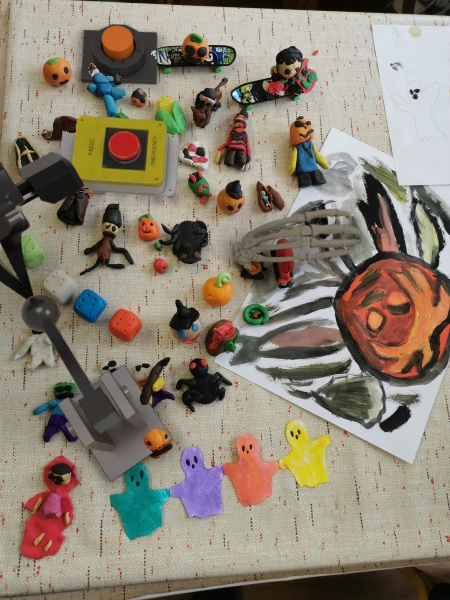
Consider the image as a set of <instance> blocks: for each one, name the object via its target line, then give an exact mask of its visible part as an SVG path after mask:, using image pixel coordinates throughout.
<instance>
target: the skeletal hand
mask: <svg viewBox="0 0 450 600" xmlns="http://www.w3.org/2000/svg"><path fill="white" fill-rule="evenodd" d="M350 216H351V213H350V212H349V211H347V210H341V209H339V208H325V209H324V208H323V209H316V210H313V211H311V210H310V211H304V213H294V214H293V215H290V216H288V217H283V218H280V219H279V218H278V219H276V220H272V221H269V222H266V223H264V224H262V225H260V226H258V227H256V228H254V229H252V230H250V231H247V233H246V234H245V235H243V236H242V237H241V242H239V241H236V242H233V244H232V245H233V246H232V252H233V254H234V255H233V258H232V259H233V261H234V263H236V264H238V265H241V266H243V268H244V269H246V270H248V269H247V268H249V267H251V264H252V262H255V263H260V262H262V263H263V262H264V263H283V262H291V261H297V262H305V261H306V262H307V263H310V262H311V261H314V260H324V259H331V258H338V257H339V256H340V257H343V256H346V255H349V254H350V255H352V253H353V252H352V250H349V249H344V248H345V247H348V246H355V245H357V243H361V242H360V241H361V240H360V239H362V235H361V234H362V233H361V231H360V230H359V229H358V228H357V227H353V226H350V225H346V224H339V223H329V224H315V223H312V224H310V225H305V224H303V223H310V222H311V221H313V220H314V219H319V218H323V219H324V218H329V217H330V218H333V217H334V218H339V217H345V219H348V220H349V219H350ZM292 223H295V224H296V225H299V226H297V227H293V226H290V225H288V224H292ZM278 229H279V230H282V231H279V232H275V231H276V230H278ZM283 230H284V231H283ZM272 232H273V233H272ZM274 232H275V233H274ZM264 233H266V234H267V235H264V236H261V237H258V236H260V235H262V234H264ZM336 234H338V235H342V236H346V235H355V237H357V238H359V239H356V238H350V239H345V238H344V237H342V238H341V237H340V238H339V239H338V238H336V239H334V238H332V239H316V238H315V237H317V236H318V235H336ZM291 236H294V237H295V236H297V237H301V238H300V239H298V240H296V241H291V242H281V243H275V244H270V245H261V244H264V243H265V242H268V241H269V242H270V241H272V240H276V239H282V238H285V237H291ZM309 237H310V238H309ZM304 248H309V249H314V248H323V249H326V248H327V249H328V248H329V249H330V250H327V251H320V252H315V253H311V252H305V254H303V253H297V254H296V255H294V256H292V255H291V256H263V255H262V254H261V253H264V252H270V251H277V250H284V249H285V250H286V249H304ZM332 248H334V249H332ZM249 271H250V272H255V271H254V270H249Z"/></svg>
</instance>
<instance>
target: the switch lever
mask: <svg viewBox="0 0 450 600" xmlns="http://www.w3.org/2000/svg"><path fill="white" fill-rule="evenodd" d="M20 315H21V320H22V322H23V323H24V324H25V326H26V327H27V328H29V329H31V330H33V331H35V332H44V333H45V334H46V336H47V337H48V339H49V341H50V342H51V345H52V346H53V348H54V349H55V351H56V353H57V354H58V356H59V358H60V359H61V361H62V363H63V364H64V366H65V368H66V369H67V371H68V373H69V374H70V376H71V378H72V379H73V381H74V383H75V385H76V386H77V388H78V390H79V392H80V393H82V395H83V396H84V397H83V398H81V399H80V400H78V403H79V404H80V406H81V408H82V409H83V411H84V413H85V414H86V416H87V418H88V420H89V421H90V423H91V425H92V426H93V427H94V428H95V429H96V430H97V431H98V432H99V433H100V434H101V433H103V432H104V431H106V430H107V429H109V428H110V427H112V426H113V425H115V424H116V423H118V422H119V421H121V420H122V419H121V417H120V416H119V414H118V413H117V411H116V409H115V408H114V406H113V404H112V403H111V401H110V400H109V398H108V396H107V395H106V394H105V392H104V391H103V390H102V389H101V387H98V388H97V389H95V388H94V387H93V385H94V384H93V383H92V381H91V380H90V379H89V377H88V375H87V374H86V372H85V370H84V368H83V367H82V365H81V364H80V362H79V361H78V359H77V357H76V356H75V354H74V352H73V351H72V348H71V347H70V346H69V344H68V342H67V341H66V339H65V338H64V336H63V334H62V332H61V330H60V329H59V327H58V326H57V324H58V323H59V321H60V318H61V307H60V304H59V302H58V301H57V300H56V299H55V298H54V297H52V296H50V295H49V294H44V293H37V294H34V295H33V296H32V297H30V298H28V299H25V301H24V303H23V304H22V306H21V311H20Z"/></svg>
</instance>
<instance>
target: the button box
mask: <svg viewBox="0 0 450 600" xmlns="http://www.w3.org/2000/svg"><path fill="white" fill-rule="evenodd" d="M112 26H122V27H125V28H126V29H128V30H129V31H130V32H131V34H132V37H133V44H134V50H133V53H132V54H131V55H130V56H129V57H128V58H126V59H123V60H114V59H111V58H110V57H108V56H107V55H106V54H105V52H104V48H103V43H102V35H103V33H104V31H105V30H106V29H108V28H110V27H112ZM156 49H157V50H158V32H157V31H139V30H137V29H135V28H133V27H132V26H130V25H128V24H123V23H122V24H120V23H119V24H118V23H113V24H109V25H107V26H105V27H102V28H100V29H84V30H83V39H82V54H81V55H82V56H81V76H80V80H81V83H95V80H93V79H92V76H91V75H90V74H89V72H88V67H89V64H90V63H93V64H94V65H95V66H96V68H97V69H98V70H99V72H100V73H102V74H103V75H105V76H113V75H115V74H118V75H119V76H121V78H120V81H109V82H110V83H109V84H137V85H139V84H140V85H157V84H158V58H157V59H155V56H153V54H152V55H151V51H153V50H156Z"/></svg>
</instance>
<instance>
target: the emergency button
mask: <svg viewBox="0 0 450 600" xmlns="http://www.w3.org/2000/svg"><path fill="white" fill-rule="evenodd" d="M75 125H76V132H75V133H69V132H67V131H66V132H65V131H63V130H62V134H61V142H60V150H59V154H60V155H62V156H63V157H65V158H66V159H67V160H69V161H70V162H71V163H72V165H73V166H74V168H75V169H76V171H77V173H78V174H79V176H80V178H81V180H82V182H83V183H84V186H83V187H82V188H88V189H91V191H92V192H91V191H80V192H83V193H82V194H94V195H95V194H98V195H105V194H107V193H108V194H125V195H137V196H138V195H139V196H140V195H141V196H155V197H169V198H172V197H174V196H175V195H176V193H177V183H178V167H179V166H178V165H179V149H180V136H179V135H178V133H176V134H175V135H171V134H169V133H167V131H168V127H167V124H166V123H165V122H164V121H162V120H153V119H139V118H138V119H137V118H124V117H122V118H121V117H111V116H110V117H109V116H97V115H95V116H94V115H80V116H79V117H78V118H77V120H76V124H75Z"/></svg>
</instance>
